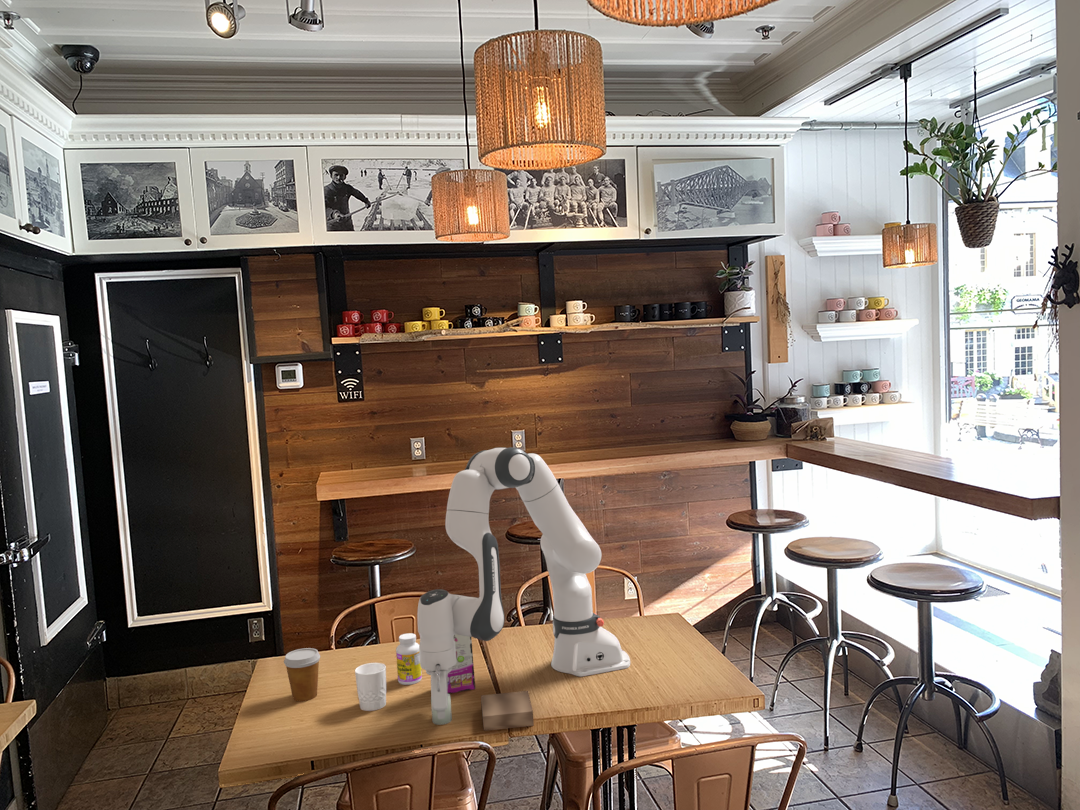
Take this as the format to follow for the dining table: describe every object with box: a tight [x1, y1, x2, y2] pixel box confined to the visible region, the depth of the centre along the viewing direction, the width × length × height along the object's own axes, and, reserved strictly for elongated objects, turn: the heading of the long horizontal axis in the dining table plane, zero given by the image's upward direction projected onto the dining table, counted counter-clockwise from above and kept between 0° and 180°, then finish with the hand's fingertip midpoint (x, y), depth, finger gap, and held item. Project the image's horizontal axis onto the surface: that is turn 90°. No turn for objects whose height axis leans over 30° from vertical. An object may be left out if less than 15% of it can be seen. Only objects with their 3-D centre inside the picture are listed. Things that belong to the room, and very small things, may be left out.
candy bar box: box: [448, 634, 476, 695], centre depth 219 cm, size 11×5×16 cm, turn 106°
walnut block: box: [480, 690, 535, 732], centre depth 201 cm, size 12×12×4 cm
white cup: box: [354, 662, 387, 712], centre depth 212 cm, size 8×8×10 cm
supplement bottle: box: [395, 632, 423, 686], centre depth 227 cm, size 7×7×13 cm
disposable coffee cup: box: [283, 647, 321, 702], centre depth 220 cm, size 10×10×12 cm
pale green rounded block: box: [430, 693, 453, 726], centre depth 201 cm, size 5×5×6 cm
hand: (441, 712), depth 201 cm, fingers closed on pale green rounded block, 5 cm apart
